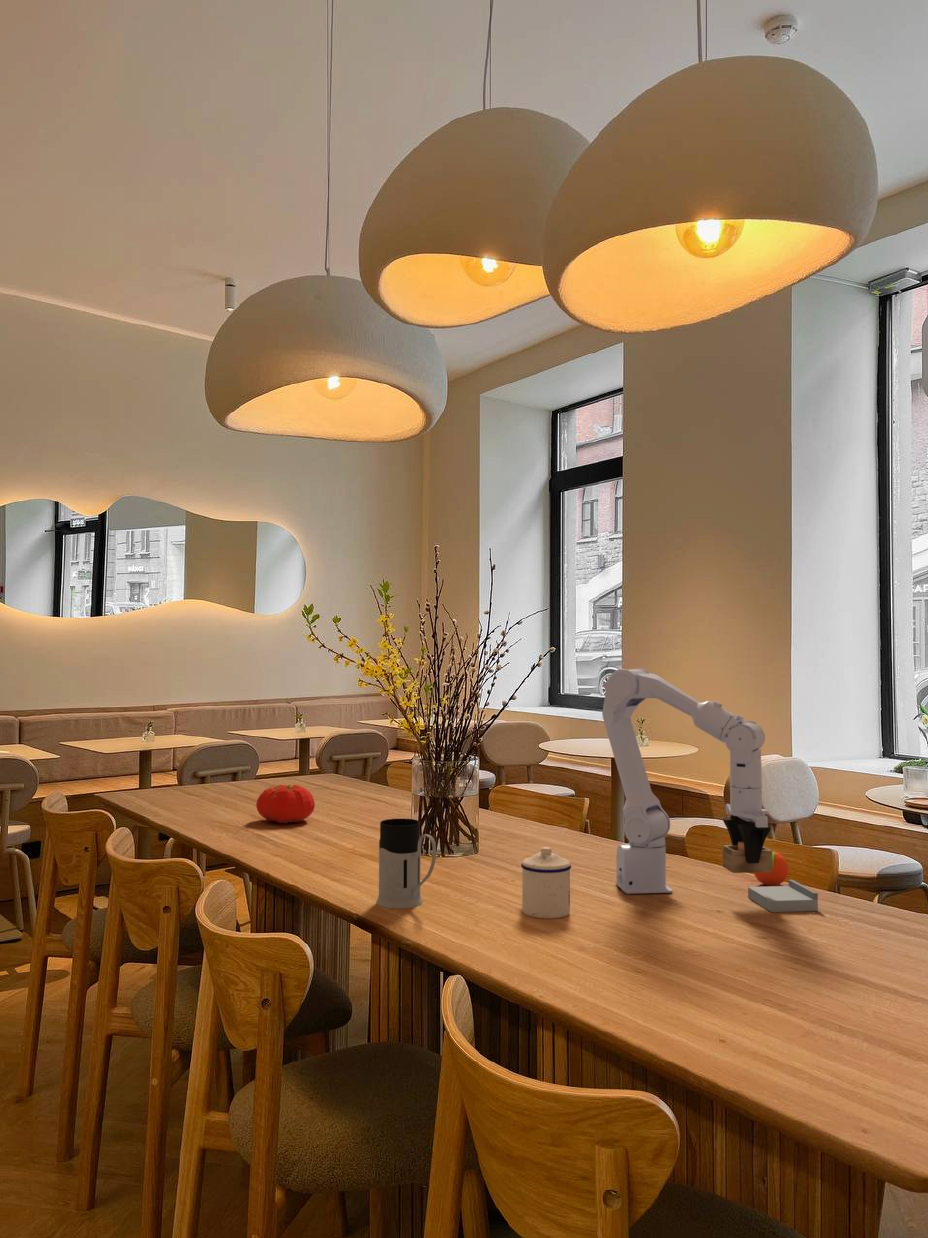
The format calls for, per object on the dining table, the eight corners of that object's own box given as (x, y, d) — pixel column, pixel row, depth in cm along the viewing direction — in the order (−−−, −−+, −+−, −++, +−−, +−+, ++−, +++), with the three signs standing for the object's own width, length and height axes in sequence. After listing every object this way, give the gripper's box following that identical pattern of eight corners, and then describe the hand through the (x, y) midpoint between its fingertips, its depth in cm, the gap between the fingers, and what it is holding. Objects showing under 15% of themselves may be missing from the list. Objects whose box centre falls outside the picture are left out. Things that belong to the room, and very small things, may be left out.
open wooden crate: (733, 872, 168) (733, 850, 169) (722, 866, 173) (722, 845, 174) (772, 872, 169) (772, 850, 169) (760, 865, 174) (760, 844, 174)
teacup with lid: (581, 915, 164) (581, 850, 164) (538, 922, 159) (538, 855, 160) (544, 899, 174) (544, 838, 175) (503, 905, 170) (503, 842, 171)
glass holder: (402, 893, 178) (402, 816, 179) (452, 907, 168) (452, 826, 169) (366, 901, 172) (367, 821, 173) (416, 917, 162) (417, 832, 163)
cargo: (741, 855, 170) (741, 844, 170) (735, 851, 173) (735, 840, 173) (758, 855, 170) (758, 844, 170) (751, 851, 173) (751, 840, 173)
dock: (770, 911, 166) (770, 894, 167) (748, 897, 176) (747, 880, 176) (817, 910, 167) (817, 892, 168) (792, 896, 177) (792, 879, 177)
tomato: (265, 816, 261) (265, 782, 262) (321, 818, 260) (321, 783, 260) (248, 826, 247) (249, 789, 248) (307, 827, 246) (307, 790, 246)
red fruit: (791, 892, 181) (791, 855, 181) (755, 890, 182) (754, 854, 182) (785, 882, 188) (785, 847, 189) (750, 880, 190) (750, 845, 190)
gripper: (783, 791, 165) (784, 867, 165) (750, 780, 180) (751, 850, 179) (745, 792, 164) (746, 868, 164) (715, 781, 179) (716, 851, 178)
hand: (746, 859), depth 171 cm, fingers closed on open wooden crate, 5 cm apart
